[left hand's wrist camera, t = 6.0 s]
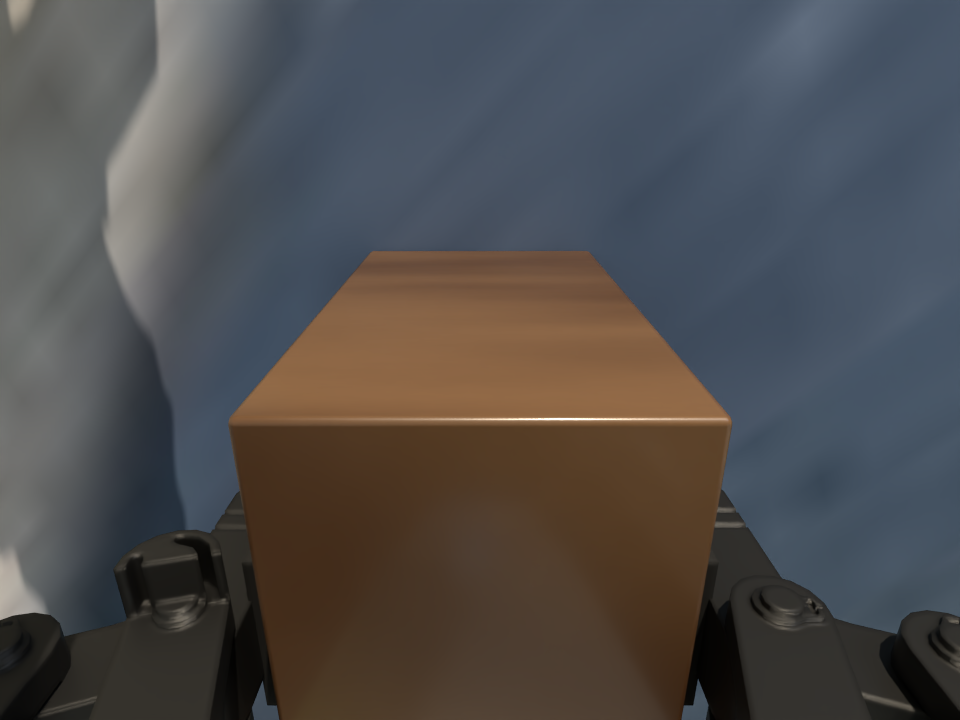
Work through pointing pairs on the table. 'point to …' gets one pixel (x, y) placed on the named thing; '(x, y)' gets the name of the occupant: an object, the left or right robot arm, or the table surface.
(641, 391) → the bar
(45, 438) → the table surface
